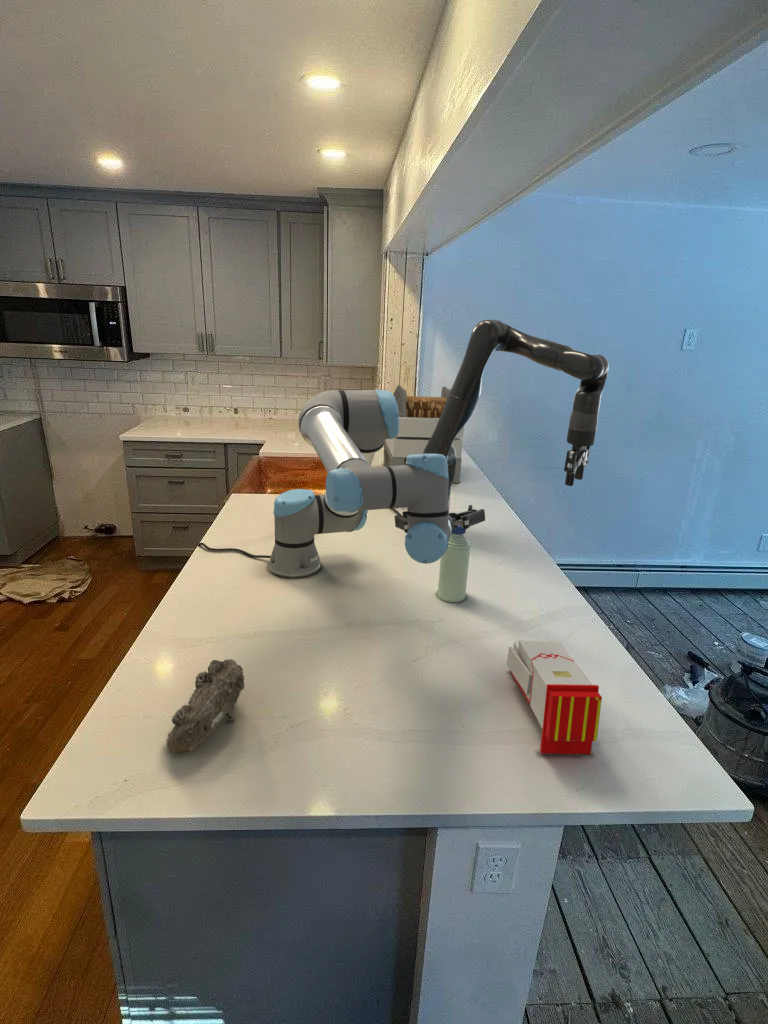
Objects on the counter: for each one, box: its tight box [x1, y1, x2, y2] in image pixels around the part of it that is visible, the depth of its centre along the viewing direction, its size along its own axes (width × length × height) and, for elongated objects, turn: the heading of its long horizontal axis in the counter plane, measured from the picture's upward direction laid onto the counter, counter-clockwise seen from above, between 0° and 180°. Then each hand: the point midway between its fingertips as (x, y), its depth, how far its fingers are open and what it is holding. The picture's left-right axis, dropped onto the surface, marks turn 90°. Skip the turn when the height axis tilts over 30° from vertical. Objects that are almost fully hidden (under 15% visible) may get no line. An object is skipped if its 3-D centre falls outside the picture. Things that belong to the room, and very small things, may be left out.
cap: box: [452, 525, 467, 535], centre depth 152 cm, size 4×4×2 cm
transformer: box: [383, 384, 465, 484], centre depth 268 cm, size 34×33×41 cm
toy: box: [506, 640, 603, 755], centre depth 114 cm, size 12×13×30 cm
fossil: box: [166, 658, 245, 754], centre depth 106 cm, size 22×10×15 cm
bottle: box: [437, 534, 471, 603], centre depth 155 cm, size 8×8×21 cm
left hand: (442, 512), depth 135 cm, fingers open, 13 cm apart
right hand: (573, 482), depth 165 cm, fingers open, 8 cm apart
